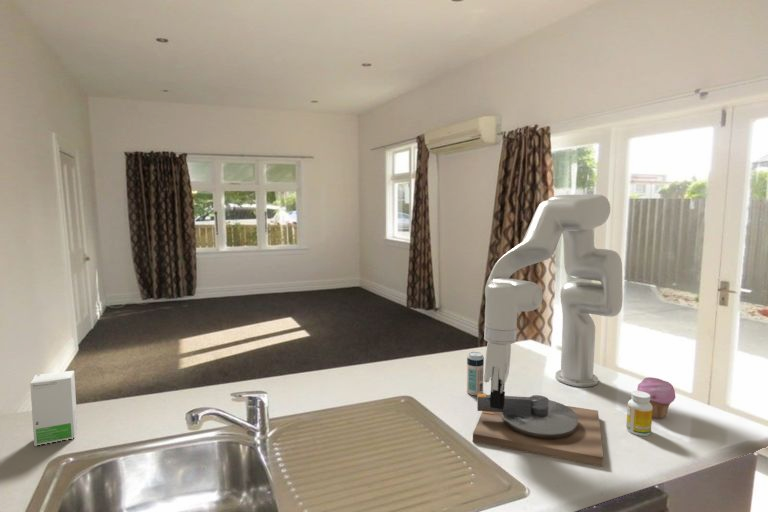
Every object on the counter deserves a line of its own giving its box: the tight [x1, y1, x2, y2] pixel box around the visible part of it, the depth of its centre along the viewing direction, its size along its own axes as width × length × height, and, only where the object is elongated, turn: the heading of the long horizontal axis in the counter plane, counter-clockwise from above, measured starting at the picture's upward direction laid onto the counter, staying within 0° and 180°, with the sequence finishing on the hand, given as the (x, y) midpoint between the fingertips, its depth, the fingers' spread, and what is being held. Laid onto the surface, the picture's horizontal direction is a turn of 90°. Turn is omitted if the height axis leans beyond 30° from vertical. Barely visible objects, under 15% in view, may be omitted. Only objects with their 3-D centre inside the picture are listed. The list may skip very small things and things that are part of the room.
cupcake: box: [636, 376, 676, 419], centre depth 121 cm, size 9×9×10 cm
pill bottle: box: [466, 351, 485, 397], centre depth 136 cm, size 5×5×12 cm
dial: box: [476, 393, 578, 439], centre depth 115 cm, size 24×18×6 cm
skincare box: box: [30, 370, 78, 447], centre depth 112 cm, size 8×7×16 cm
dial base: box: [472, 405, 604, 467], centre depth 115 cm, size 24×28×2 cm
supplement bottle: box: [625, 390, 653, 437], centre depth 113 cm, size 5×5×10 cm
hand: (497, 407), depth 113 cm, fingers closed
